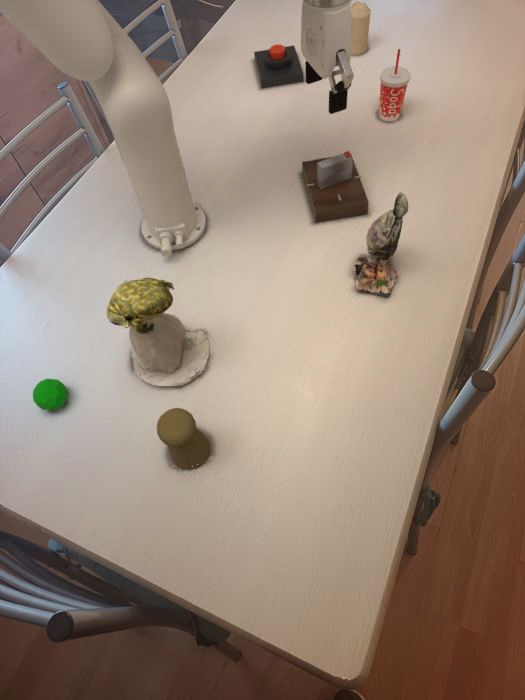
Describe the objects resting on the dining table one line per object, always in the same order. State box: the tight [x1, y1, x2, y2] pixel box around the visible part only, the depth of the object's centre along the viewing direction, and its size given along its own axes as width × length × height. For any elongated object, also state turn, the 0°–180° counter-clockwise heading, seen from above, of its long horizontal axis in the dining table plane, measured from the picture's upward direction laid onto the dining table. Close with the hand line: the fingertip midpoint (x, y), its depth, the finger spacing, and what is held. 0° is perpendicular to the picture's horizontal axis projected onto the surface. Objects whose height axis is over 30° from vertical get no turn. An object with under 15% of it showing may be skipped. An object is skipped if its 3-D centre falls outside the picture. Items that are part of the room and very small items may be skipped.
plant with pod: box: [352, 191, 409, 298], centre depth 79 cm, size 8×11×20 cm
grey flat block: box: [317, 150, 354, 189], centre depth 94 cm, size 6×2×5 cm, turn 114°
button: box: [269, 44, 286, 60], centre depth 117 cm, size 4×4×2 cm
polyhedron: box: [32, 378, 68, 411], centre depth 78 cm, size 5×5×5 cm
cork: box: [156, 407, 212, 471], centre depth 69 cm, size 6×6×11 cm
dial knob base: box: [301, 156, 370, 224], centre depth 97 cm, size 14×11×3 cm
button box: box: [253, 45, 304, 89], centre depth 119 cm, size 12×10×4 cm
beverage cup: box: [378, 48, 412, 122], centre depth 103 cm, size 6×6×14 cm
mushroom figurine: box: [106, 277, 210, 387], centre depth 75 cm, size 12×13×18 cm
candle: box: [351, 0, 371, 56], centre depth 119 cm, size 6×6×10 cm
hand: (325, 95), depth 89 cm, fingers open, 9 cm apart
